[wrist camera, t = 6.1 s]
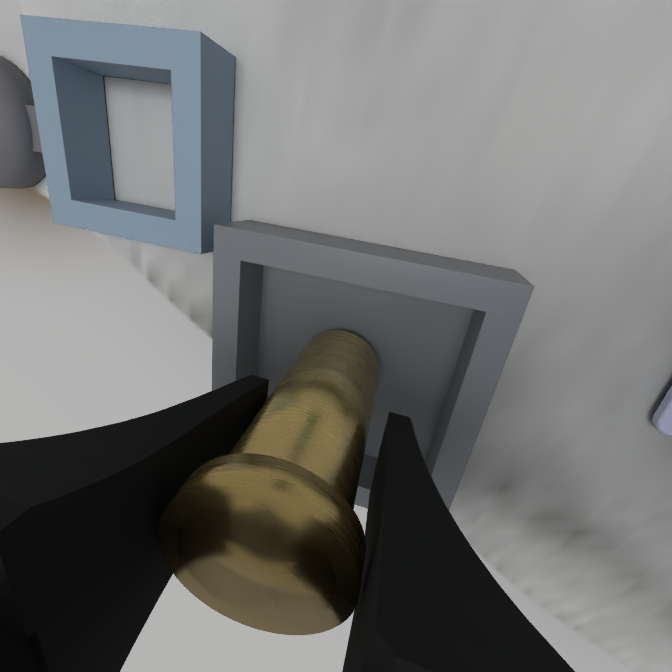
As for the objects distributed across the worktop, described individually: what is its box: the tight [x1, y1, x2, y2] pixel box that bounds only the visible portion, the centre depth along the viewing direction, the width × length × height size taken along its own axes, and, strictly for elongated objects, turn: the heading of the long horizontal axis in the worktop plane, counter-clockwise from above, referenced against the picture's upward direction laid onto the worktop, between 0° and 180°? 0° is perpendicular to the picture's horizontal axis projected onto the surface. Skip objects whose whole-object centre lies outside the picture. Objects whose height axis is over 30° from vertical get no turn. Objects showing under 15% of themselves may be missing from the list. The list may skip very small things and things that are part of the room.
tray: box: [212, 220, 534, 510], centre depth 14 cm, size 10×10×2 cm
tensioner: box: [0, 15, 235, 254], centre depth 13 cm, size 13×6×2 cm, turn 81°
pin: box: [158, 330, 380, 635], centre depth 10 cm, size 4×4×8 cm
